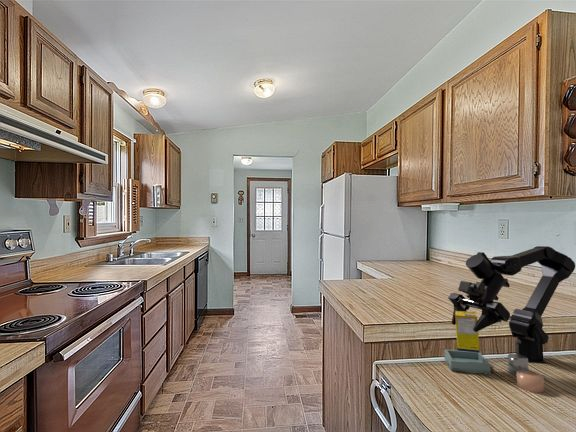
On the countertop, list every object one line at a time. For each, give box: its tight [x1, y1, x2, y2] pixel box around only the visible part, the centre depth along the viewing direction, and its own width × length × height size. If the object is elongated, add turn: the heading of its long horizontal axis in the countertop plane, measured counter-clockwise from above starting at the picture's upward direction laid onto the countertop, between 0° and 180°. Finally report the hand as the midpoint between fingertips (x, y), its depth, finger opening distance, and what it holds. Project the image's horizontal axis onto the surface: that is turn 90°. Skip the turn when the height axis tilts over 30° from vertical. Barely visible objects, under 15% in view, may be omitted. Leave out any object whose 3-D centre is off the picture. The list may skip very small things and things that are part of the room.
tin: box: [507, 353, 530, 376], centre depth 101 cm, size 5×5×4 cm
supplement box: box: [455, 311, 481, 353], centre depth 104 cm, size 6×6×11 cm
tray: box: [444, 348, 491, 375], centre depth 105 cm, size 11×11×3 cm
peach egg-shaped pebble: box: [516, 370, 545, 394], centre depth 90 cm, size 6×6×4 cm
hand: (463, 327), depth 103 cm, fingers closed on supplement box, 8 cm apart
